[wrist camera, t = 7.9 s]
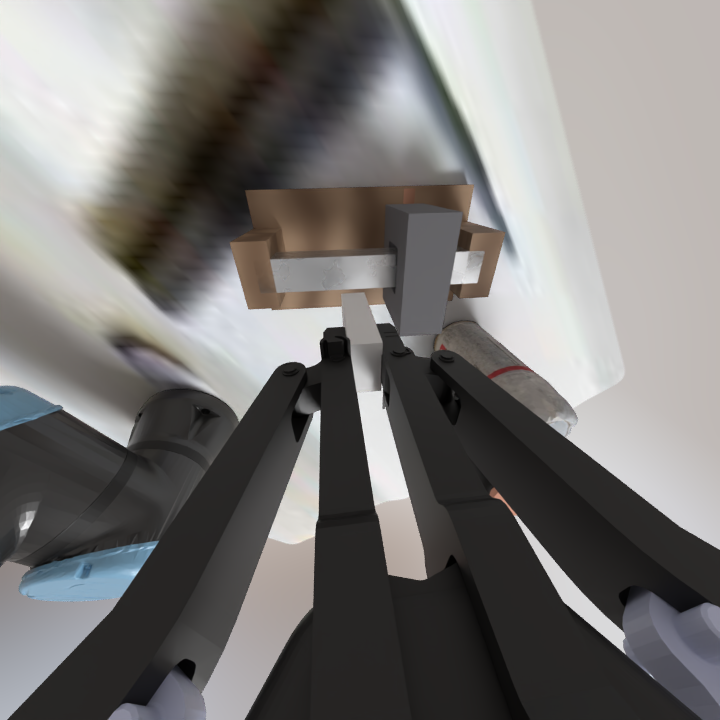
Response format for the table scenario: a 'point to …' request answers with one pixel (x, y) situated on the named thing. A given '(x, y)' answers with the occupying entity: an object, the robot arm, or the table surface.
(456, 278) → the light grey long bar
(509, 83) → the table surface
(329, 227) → the pipe stand
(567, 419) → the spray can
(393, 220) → the tall grey notched block
